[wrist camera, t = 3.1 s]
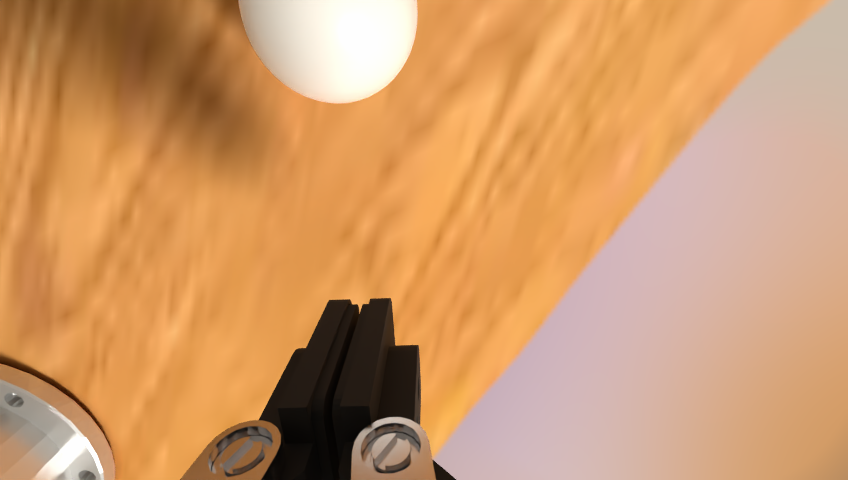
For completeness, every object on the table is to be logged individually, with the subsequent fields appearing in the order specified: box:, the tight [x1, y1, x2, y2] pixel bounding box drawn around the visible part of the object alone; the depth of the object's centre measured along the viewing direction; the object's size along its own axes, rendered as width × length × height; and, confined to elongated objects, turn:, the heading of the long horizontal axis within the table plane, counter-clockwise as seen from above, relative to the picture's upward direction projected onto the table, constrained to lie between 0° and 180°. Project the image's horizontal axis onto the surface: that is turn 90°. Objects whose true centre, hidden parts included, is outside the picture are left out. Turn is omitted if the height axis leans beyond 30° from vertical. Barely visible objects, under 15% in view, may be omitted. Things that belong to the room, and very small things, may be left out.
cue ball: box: [239, 0, 418, 103], centre depth 13 cm, size 6×6×6 cm
